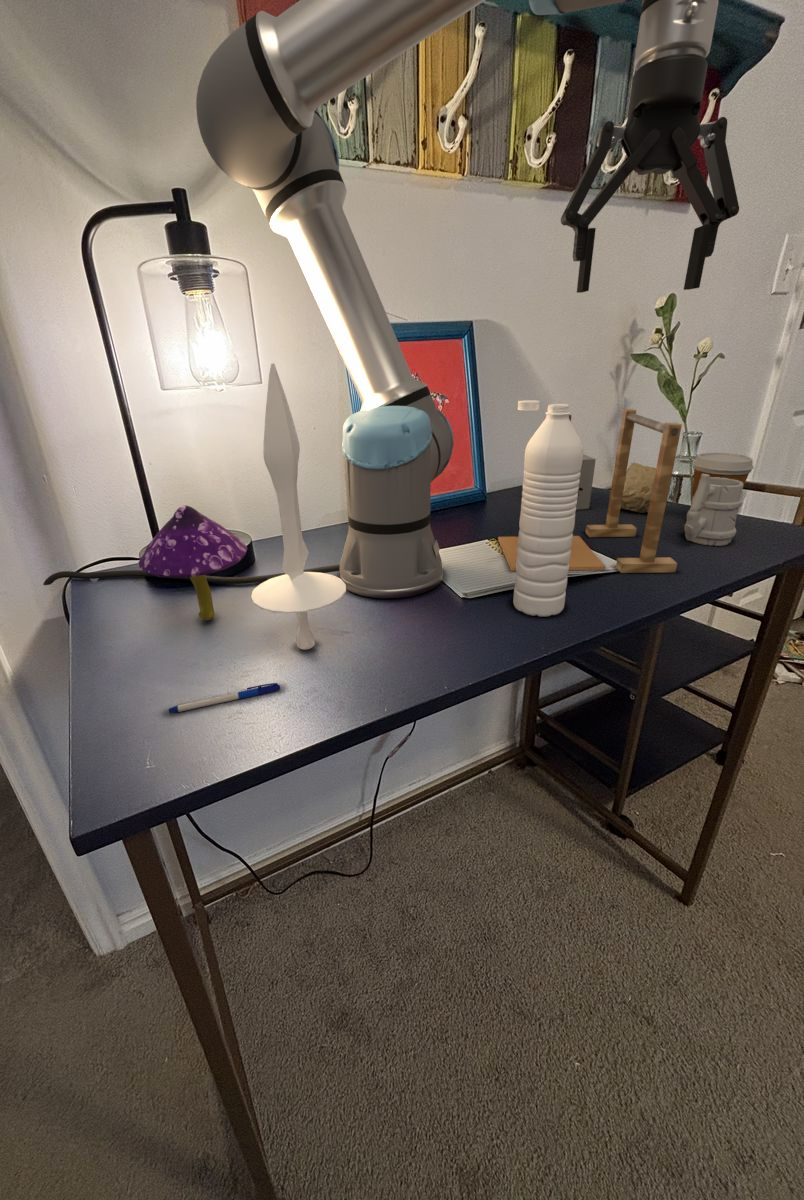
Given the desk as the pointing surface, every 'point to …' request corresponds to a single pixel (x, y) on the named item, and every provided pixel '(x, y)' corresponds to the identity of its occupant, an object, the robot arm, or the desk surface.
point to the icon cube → (585, 482)
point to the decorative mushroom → (192, 552)
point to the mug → (714, 511)
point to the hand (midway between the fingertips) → (636, 290)
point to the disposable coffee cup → (721, 467)
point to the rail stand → (657, 501)
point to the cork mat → (578, 560)
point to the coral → (638, 488)
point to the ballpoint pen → (228, 697)
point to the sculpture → (290, 524)
